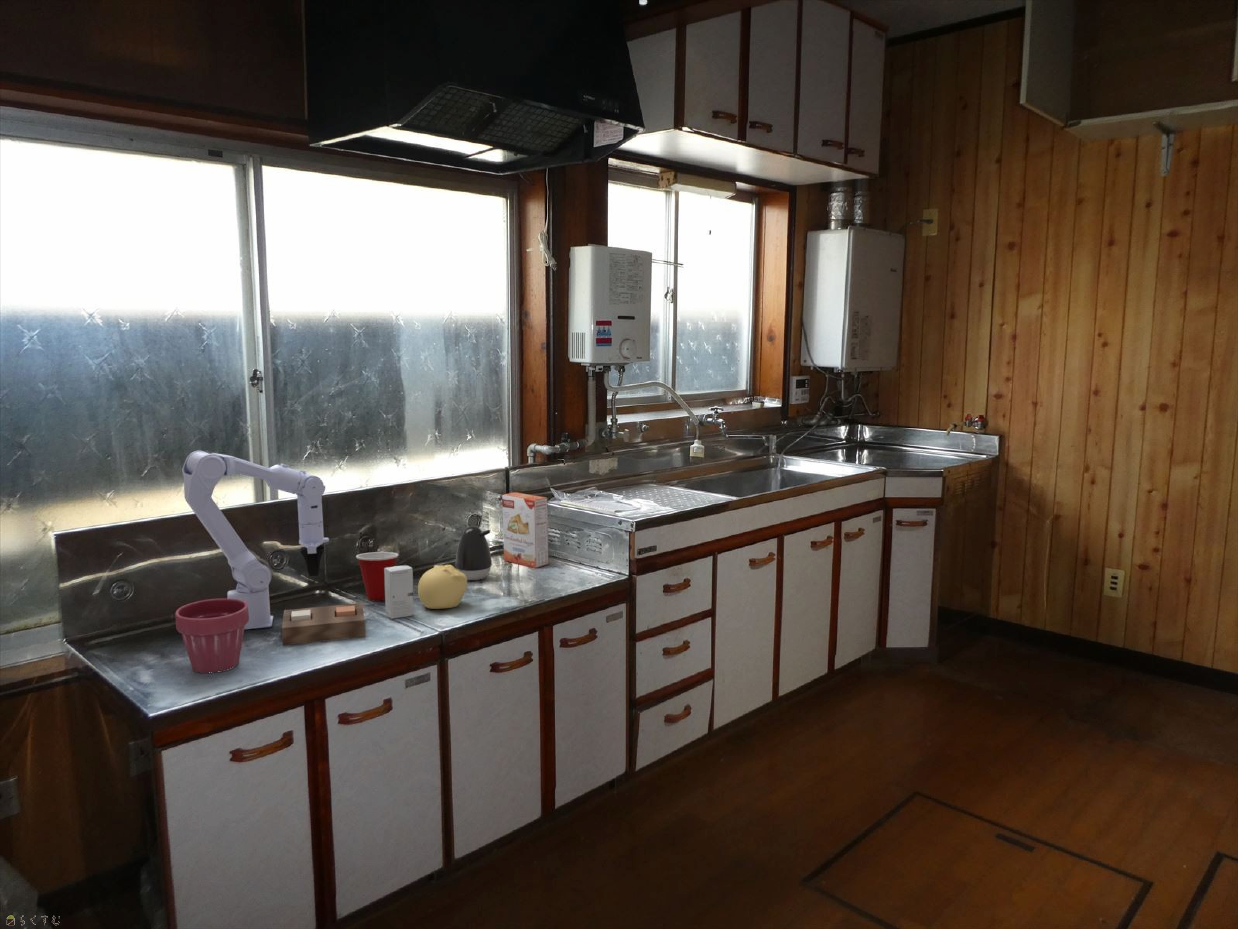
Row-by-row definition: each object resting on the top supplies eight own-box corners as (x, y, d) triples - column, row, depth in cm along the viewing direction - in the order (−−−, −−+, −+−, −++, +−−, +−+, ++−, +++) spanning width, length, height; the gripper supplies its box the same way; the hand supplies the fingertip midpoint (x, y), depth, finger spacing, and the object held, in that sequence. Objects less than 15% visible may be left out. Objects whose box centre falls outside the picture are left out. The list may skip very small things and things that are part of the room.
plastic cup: (405, 592, 248) (404, 549, 246) (392, 604, 237) (390, 559, 236) (367, 591, 249) (365, 548, 247) (351, 603, 238) (349, 558, 237)
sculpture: (474, 606, 235) (473, 565, 234) (433, 616, 227) (432, 574, 226) (451, 597, 244) (450, 557, 242) (410, 606, 236) (409, 565, 234)
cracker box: (502, 561, 280) (501, 494, 277) (517, 557, 285) (515, 491, 282) (535, 569, 271) (533, 499, 268) (549, 565, 276) (548, 496, 273)
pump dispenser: (483, 584, 255) (482, 530, 253) (449, 581, 258) (448, 528, 256) (498, 574, 265) (497, 523, 263) (465, 572, 268) (464, 521, 266)
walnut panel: (282, 645, 207) (281, 628, 206) (285, 626, 220) (284, 610, 220) (365, 636, 213) (364, 620, 212) (362, 618, 226) (361, 603, 225)
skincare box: (391, 619, 225) (389, 571, 223) (385, 615, 229) (382, 567, 227) (415, 615, 228) (413, 568, 226) (408, 610, 232) (406, 564, 230)
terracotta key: (337, 626, 215) (336, 612, 215) (336, 621, 219) (336, 607, 218) (355, 624, 216) (355, 610, 216) (355, 619, 220) (354, 605, 220)
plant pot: (250, 673, 190) (246, 613, 188) (175, 682, 186) (171, 621, 184) (253, 650, 204) (249, 595, 202) (183, 658, 199) (178, 601, 197)
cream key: (292, 631, 212) (291, 616, 212) (292, 625, 216) (291, 611, 215) (311, 629, 213) (310, 614, 213) (311, 623, 217) (310, 609, 217)
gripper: (327, 526, 223) (330, 581, 225) (327, 515, 236) (330, 566, 238) (297, 529, 221) (300, 583, 223) (298, 517, 234) (301, 569, 236)
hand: (313, 575), depth 230 cm, fingers closed
